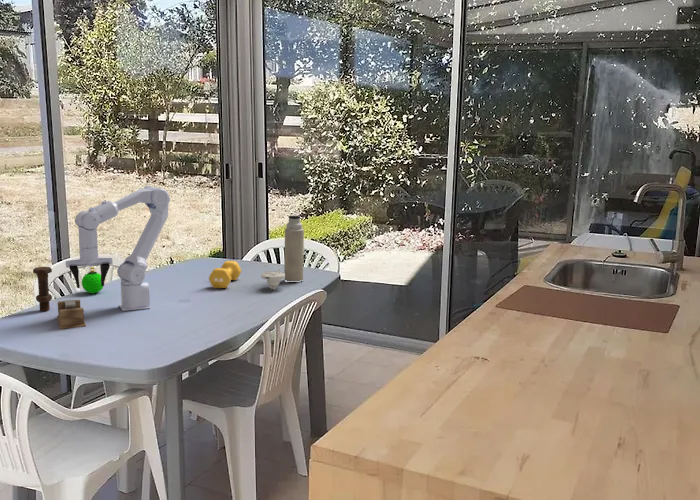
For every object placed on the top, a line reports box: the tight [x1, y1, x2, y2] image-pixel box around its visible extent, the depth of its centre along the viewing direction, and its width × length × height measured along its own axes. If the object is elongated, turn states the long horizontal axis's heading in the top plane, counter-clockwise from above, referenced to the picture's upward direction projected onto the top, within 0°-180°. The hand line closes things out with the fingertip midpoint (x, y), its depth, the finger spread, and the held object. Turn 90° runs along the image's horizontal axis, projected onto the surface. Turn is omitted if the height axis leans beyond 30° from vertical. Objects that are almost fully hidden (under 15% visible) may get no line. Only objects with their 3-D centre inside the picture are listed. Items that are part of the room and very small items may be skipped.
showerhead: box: [260, 268, 285, 290], centre depth 263 cm, size 9×7×10 cm
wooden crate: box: [56, 299, 87, 330], centre depth 214 cm, size 8×14×6 cm, turn 27°
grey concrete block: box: [63, 299, 76, 309], centre depth 213 cm, size 3×6×6 cm, turn 27°
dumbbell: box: [208, 260, 242, 289], centre depth 270 cm, size 19×9×8 cm, turn 173°
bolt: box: [32, 266, 53, 312], centre depth 224 cm, size 6×5×15 cm
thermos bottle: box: [283, 214, 305, 281], centre depth 276 cm, size 8×8×28 cm
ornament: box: [81, 266, 105, 294], centre depth 249 cm, size 8×8×10 cm
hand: (90, 286), depth 221 cm, fingers open, 7 cm apart
